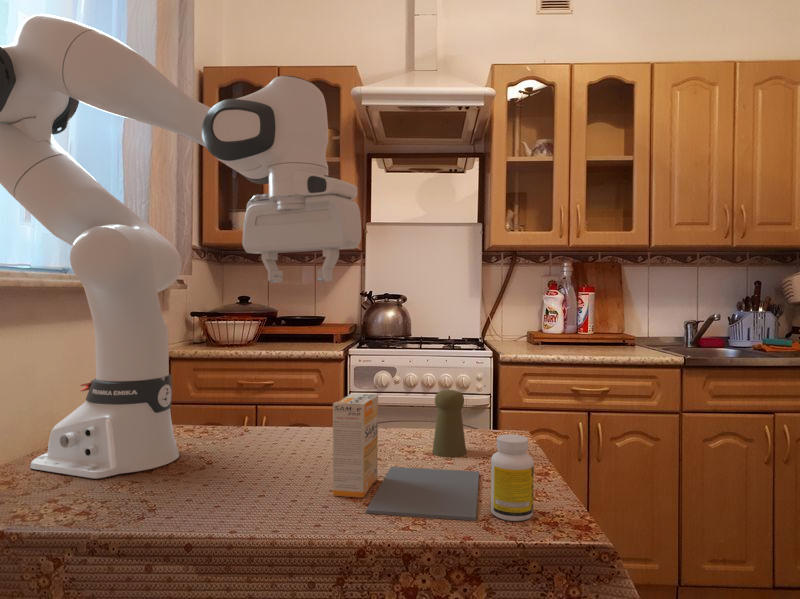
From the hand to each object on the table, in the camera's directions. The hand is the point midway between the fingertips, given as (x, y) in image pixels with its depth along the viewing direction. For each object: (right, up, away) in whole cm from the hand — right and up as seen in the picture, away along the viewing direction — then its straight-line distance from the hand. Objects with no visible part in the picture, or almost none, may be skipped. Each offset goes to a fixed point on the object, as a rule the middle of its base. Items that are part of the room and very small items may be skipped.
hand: (299, 281), depth 83 cm
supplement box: (+9, -30, -2) cm, 32 cm away
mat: (+19, -30, -4) cm, 36 cm away
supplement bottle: (+29, -30, -12) cm, 44 cm away
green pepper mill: (+24, -30, +15) cm, 41 cm away
